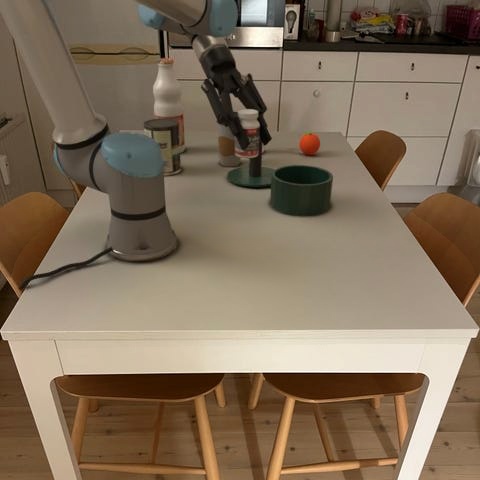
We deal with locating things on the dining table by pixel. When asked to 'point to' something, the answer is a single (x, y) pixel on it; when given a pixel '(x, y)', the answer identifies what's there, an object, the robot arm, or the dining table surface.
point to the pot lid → (252, 172)
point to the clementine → (309, 143)
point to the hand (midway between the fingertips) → (257, 144)
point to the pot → (301, 190)
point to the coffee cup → (227, 145)
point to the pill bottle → (249, 133)
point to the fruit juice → (168, 97)
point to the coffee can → (166, 142)
